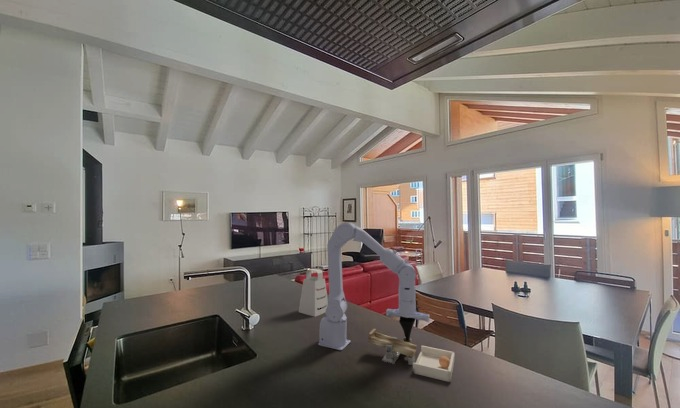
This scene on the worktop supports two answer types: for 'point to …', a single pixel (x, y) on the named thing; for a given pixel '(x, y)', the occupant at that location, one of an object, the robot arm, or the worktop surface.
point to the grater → (313, 294)
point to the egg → (444, 362)
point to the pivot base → (394, 355)
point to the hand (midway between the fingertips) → (407, 339)
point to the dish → (434, 363)
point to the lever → (393, 343)
